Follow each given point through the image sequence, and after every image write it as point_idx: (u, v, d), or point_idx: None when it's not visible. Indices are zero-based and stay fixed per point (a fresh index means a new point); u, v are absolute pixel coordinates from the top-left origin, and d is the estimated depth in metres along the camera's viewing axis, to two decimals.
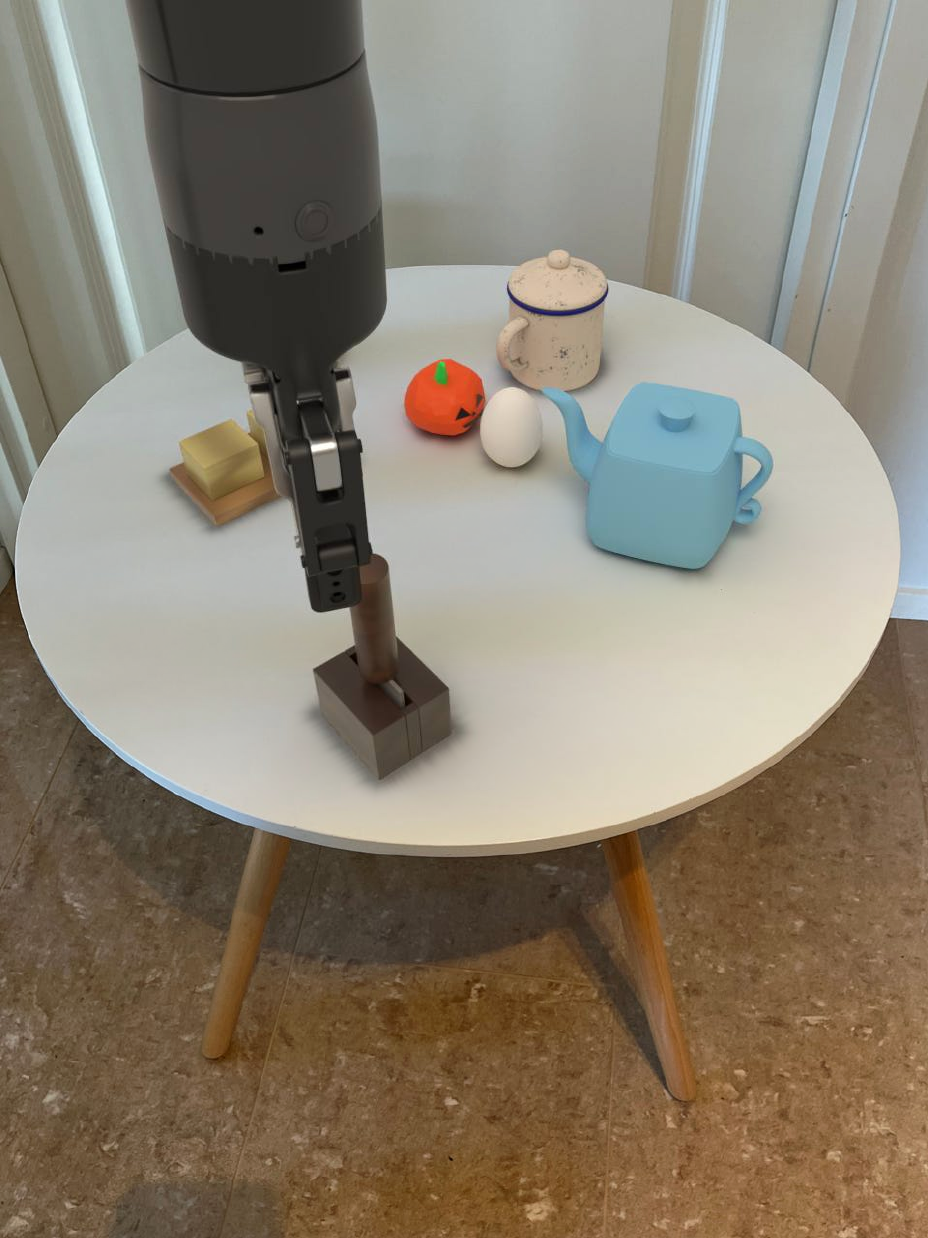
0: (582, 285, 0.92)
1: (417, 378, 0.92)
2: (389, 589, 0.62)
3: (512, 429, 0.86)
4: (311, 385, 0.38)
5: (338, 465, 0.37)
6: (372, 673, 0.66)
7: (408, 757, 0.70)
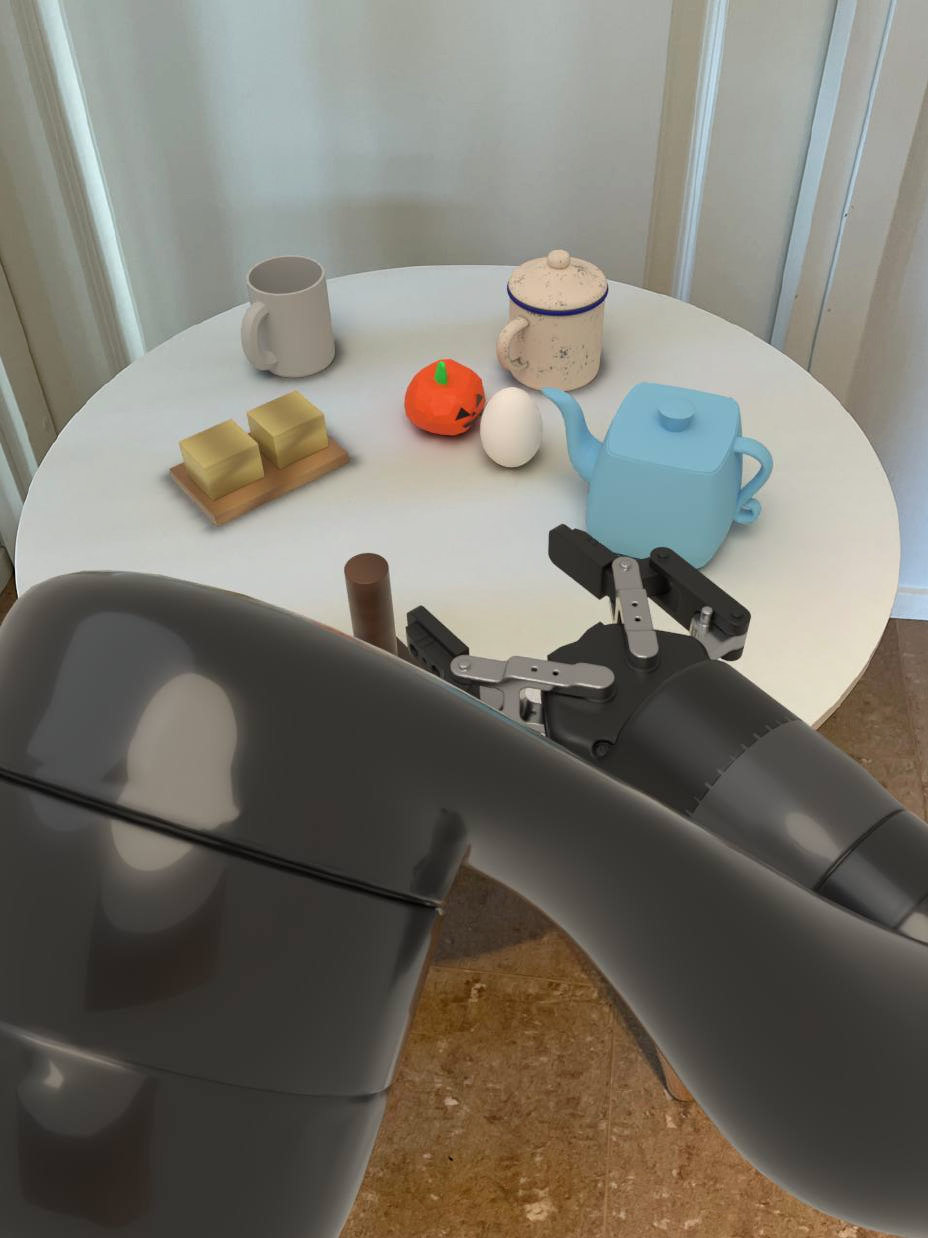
0: (582, 285, 0.92)
1: (417, 378, 0.92)
2: (389, 589, 0.62)
3: (512, 429, 0.86)
4: None
5: None
6: None
7: None
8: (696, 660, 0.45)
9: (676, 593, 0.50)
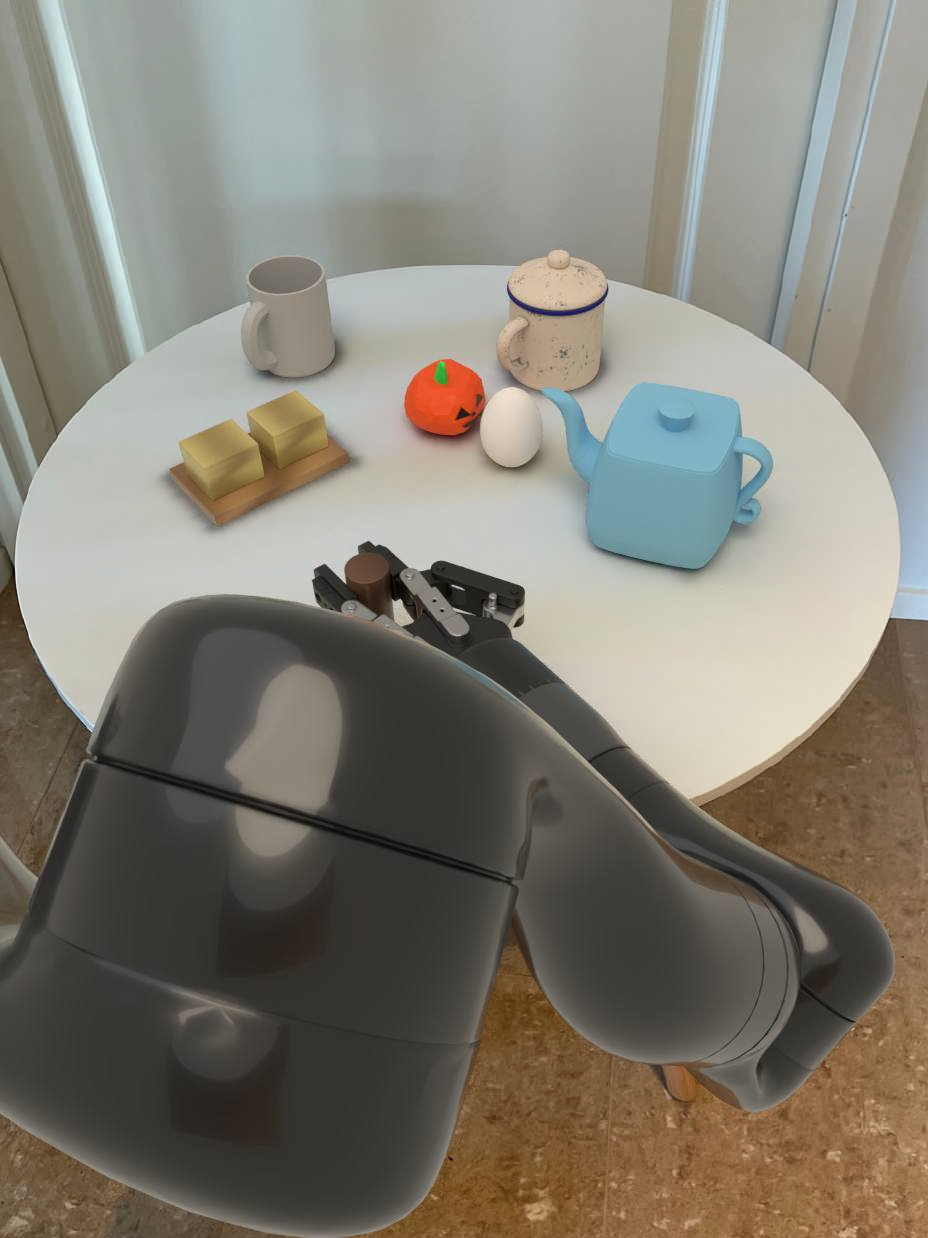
0: (582, 285, 0.92)
1: (417, 378, 0.92)
2: (389, 589, 0.62)
3: (512, 429, 0.86)
4: None
5: None
6: None
7: None
8: None
9: (457, 592, 0.64)
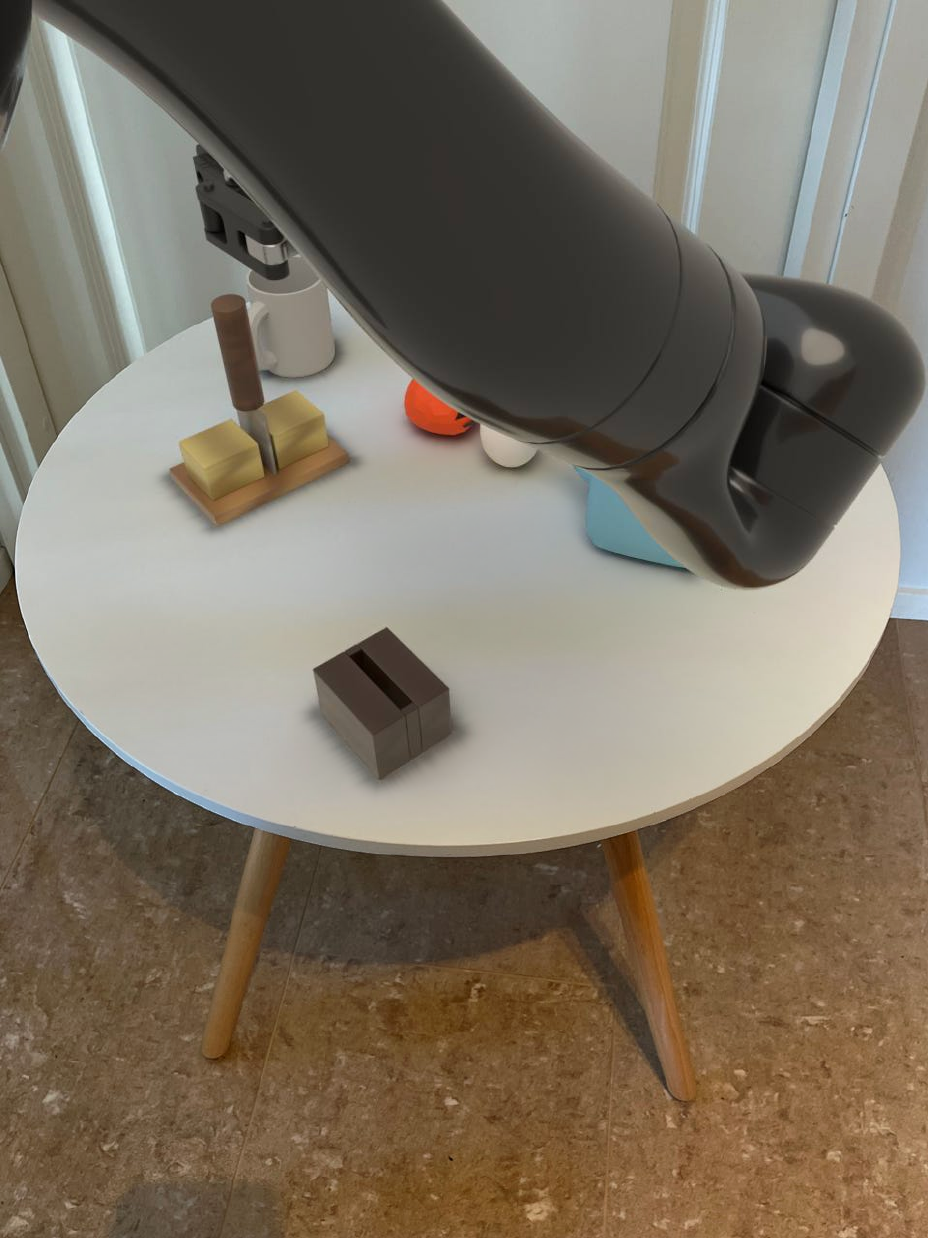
0: None
1: None
2: (247, 322, 0.80)
3: None
4: None
5: (259, 259, 0.47)
6: (240, 400, 0.84)
7: (408, 757, 0.70)
8: None
9: None
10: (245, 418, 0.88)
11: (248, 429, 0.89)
